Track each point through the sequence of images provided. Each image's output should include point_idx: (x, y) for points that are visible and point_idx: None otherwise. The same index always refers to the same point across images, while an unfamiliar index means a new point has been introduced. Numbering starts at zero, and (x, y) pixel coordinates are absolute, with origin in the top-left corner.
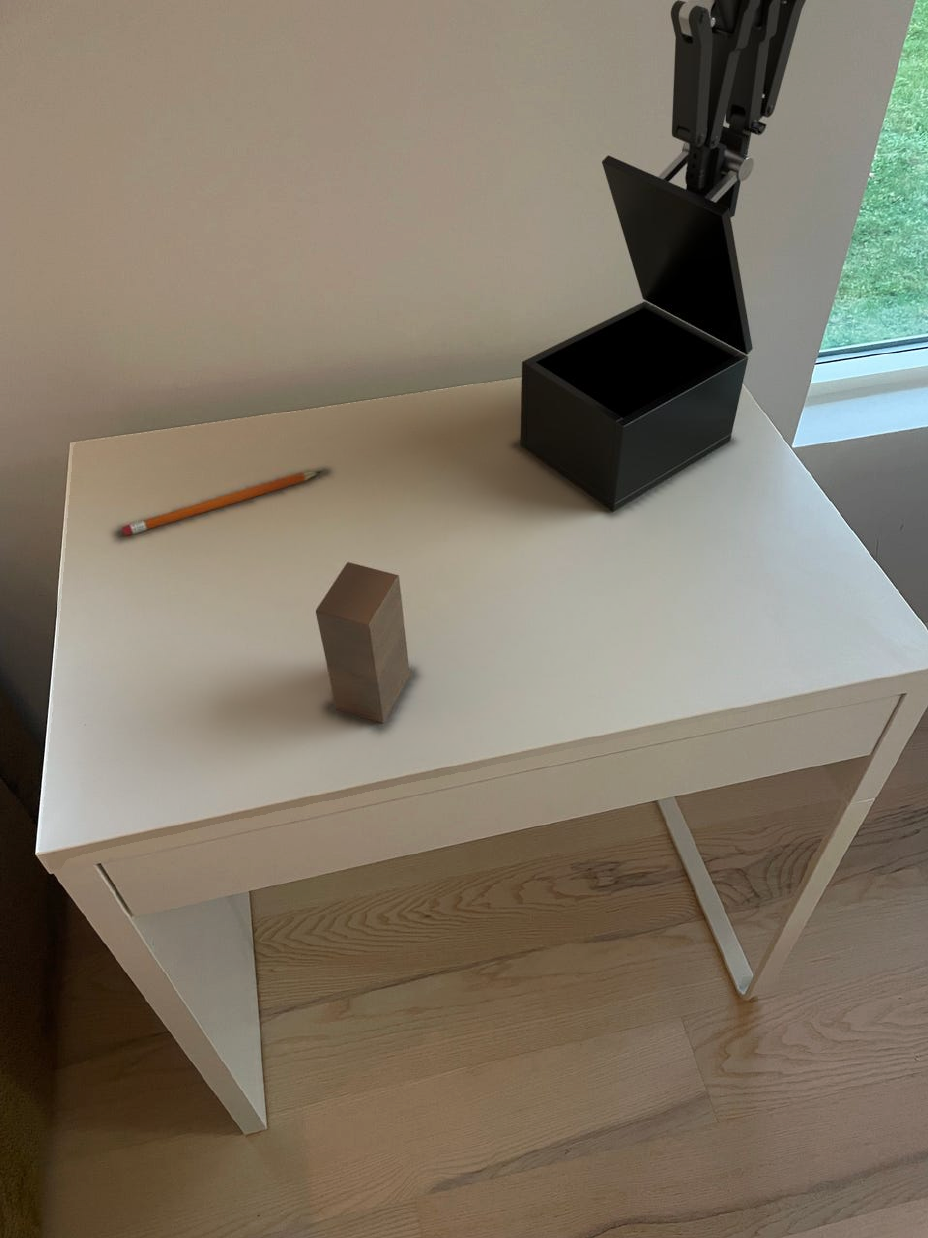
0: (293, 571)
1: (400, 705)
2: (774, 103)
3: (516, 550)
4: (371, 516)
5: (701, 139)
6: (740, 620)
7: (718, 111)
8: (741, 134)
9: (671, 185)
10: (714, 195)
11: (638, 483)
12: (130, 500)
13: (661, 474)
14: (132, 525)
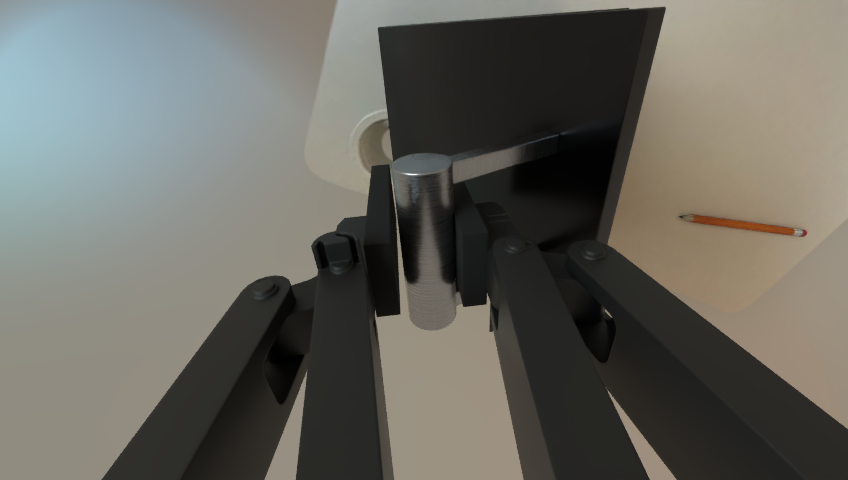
0: (784, 130)
1: None
2: (243, 300)
3: (668, 29)
4: (698, 150)
5: (597, 246)
6: None
7: (551, 300)
8: (376, 260)
9: (609, 205)
10: (517, 146)
11: (540, 14)
12: (768, 258)
13: (501, 17)
14: (801, 233)
